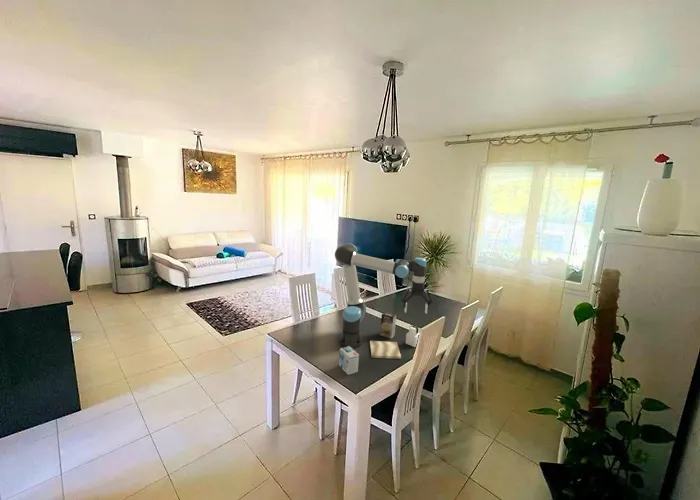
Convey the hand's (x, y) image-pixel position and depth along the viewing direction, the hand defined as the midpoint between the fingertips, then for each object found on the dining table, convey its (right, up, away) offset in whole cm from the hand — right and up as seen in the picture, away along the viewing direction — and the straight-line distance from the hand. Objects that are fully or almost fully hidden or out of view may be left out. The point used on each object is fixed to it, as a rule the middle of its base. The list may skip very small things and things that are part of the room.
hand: (415, 312), depth 197 cm
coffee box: (-17, -19, +14) cm, 30 cm away
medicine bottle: (-1, -22, +4) cm, 23 cm away
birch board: (-21, -23, -7) cm, 32 cm away
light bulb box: (-44, -26, -28) cm, 59 cm away
